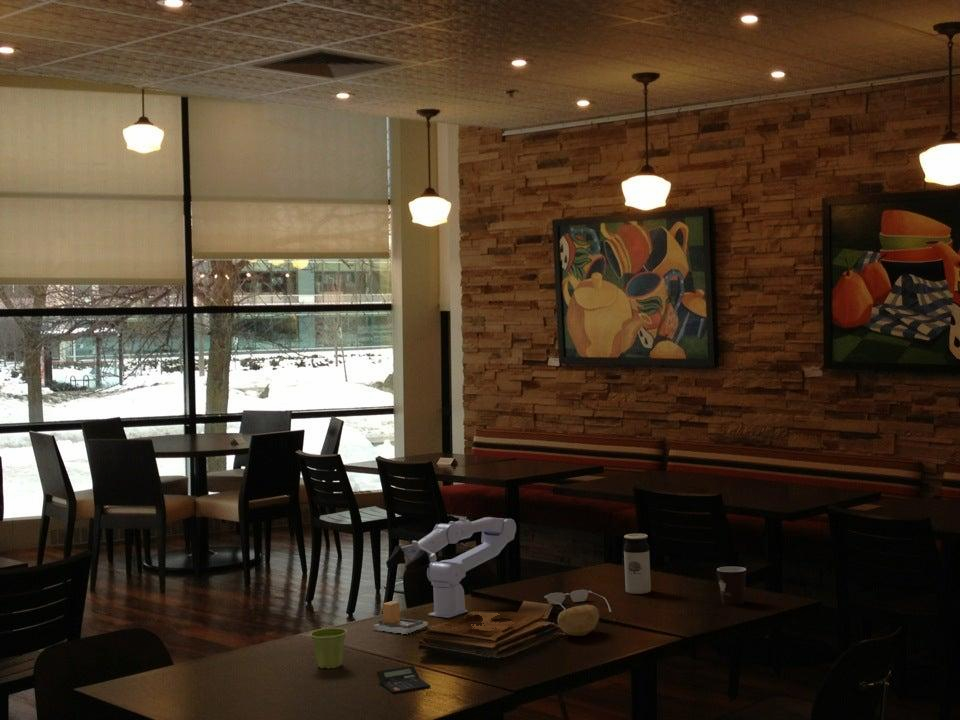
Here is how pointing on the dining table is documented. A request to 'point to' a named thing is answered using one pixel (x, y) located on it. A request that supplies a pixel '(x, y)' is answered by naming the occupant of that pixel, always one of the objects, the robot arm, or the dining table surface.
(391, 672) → the calculator
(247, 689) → the dining table surface
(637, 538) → the travel mug
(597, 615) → the potato
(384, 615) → the tan upright block
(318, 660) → the plant pot
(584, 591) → the eyeglasses
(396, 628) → the console plate
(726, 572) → the coffee mug
